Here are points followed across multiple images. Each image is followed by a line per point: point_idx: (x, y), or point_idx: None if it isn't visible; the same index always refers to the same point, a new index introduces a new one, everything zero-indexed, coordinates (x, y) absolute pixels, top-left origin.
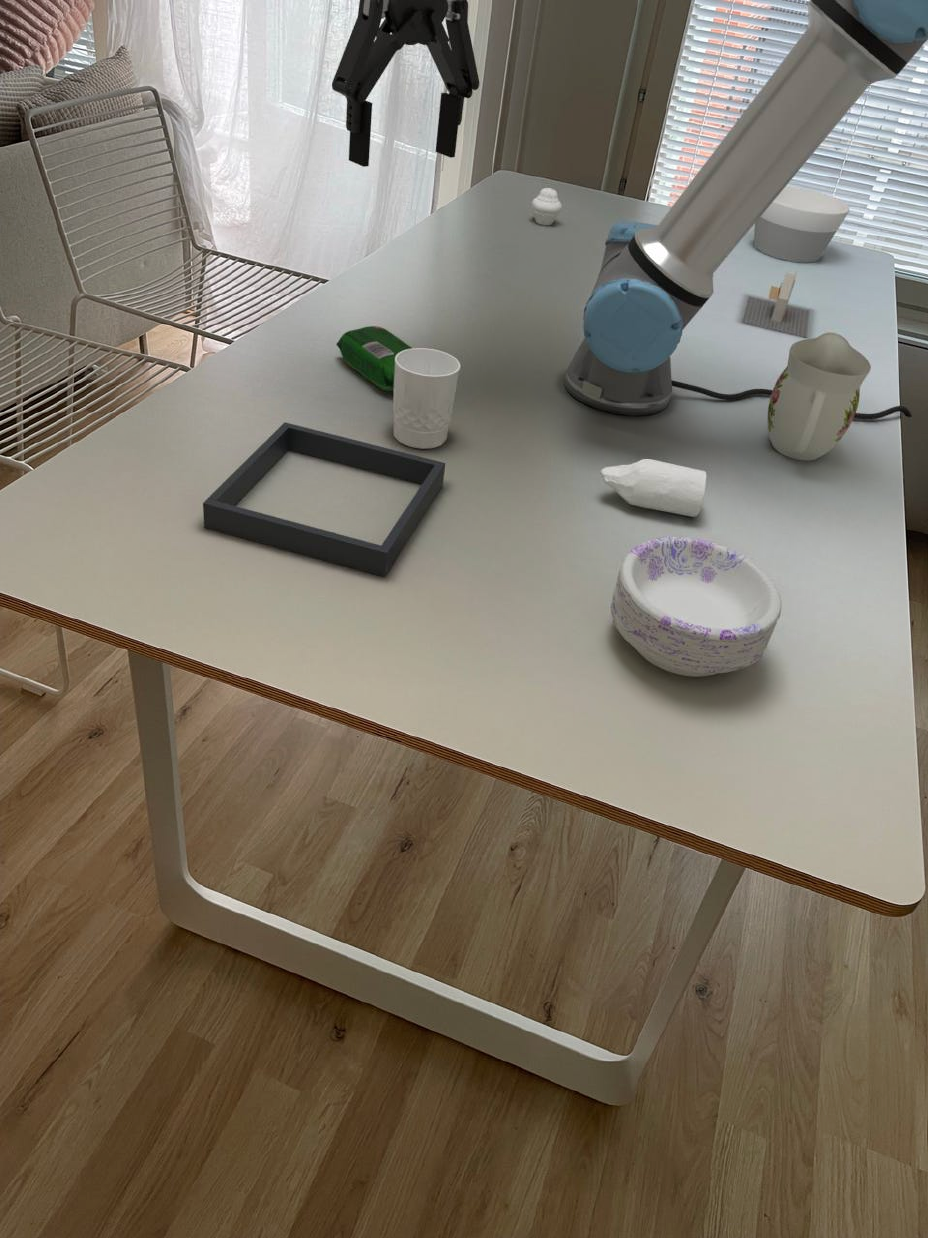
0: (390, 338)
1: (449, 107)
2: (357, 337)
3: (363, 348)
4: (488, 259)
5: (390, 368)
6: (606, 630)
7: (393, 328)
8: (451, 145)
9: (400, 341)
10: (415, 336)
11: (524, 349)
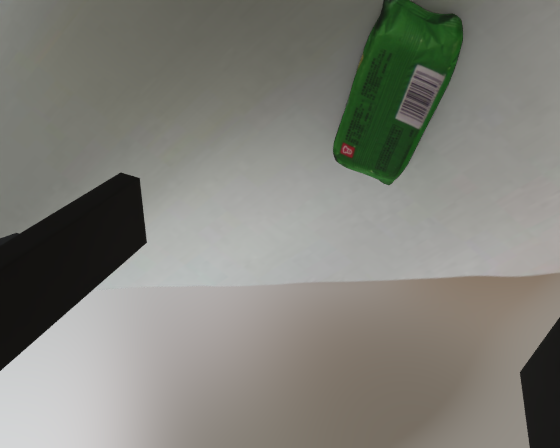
0: (367, 110)
1: (6, 306)
2: (402, 150)
3: (424, 122)
4: (39, 207)
5: (453, 43)
6: None
7: (258, 176)
8: (111, 197)
9: (364, 91)
10: (252, 142)
11: (150, 8)
